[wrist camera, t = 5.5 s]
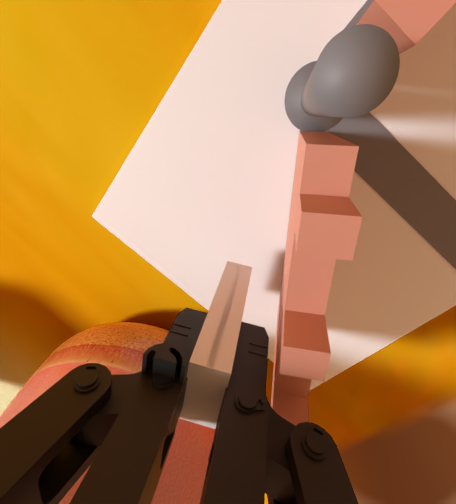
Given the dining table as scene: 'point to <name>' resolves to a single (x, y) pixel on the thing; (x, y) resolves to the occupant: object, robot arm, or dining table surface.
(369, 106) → the fixed fence panel
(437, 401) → the dining table surface
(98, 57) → the dining table surface
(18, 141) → the dining table surface
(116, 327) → the vase
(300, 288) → the folding fence panel
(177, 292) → the dining table surface
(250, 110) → the card
